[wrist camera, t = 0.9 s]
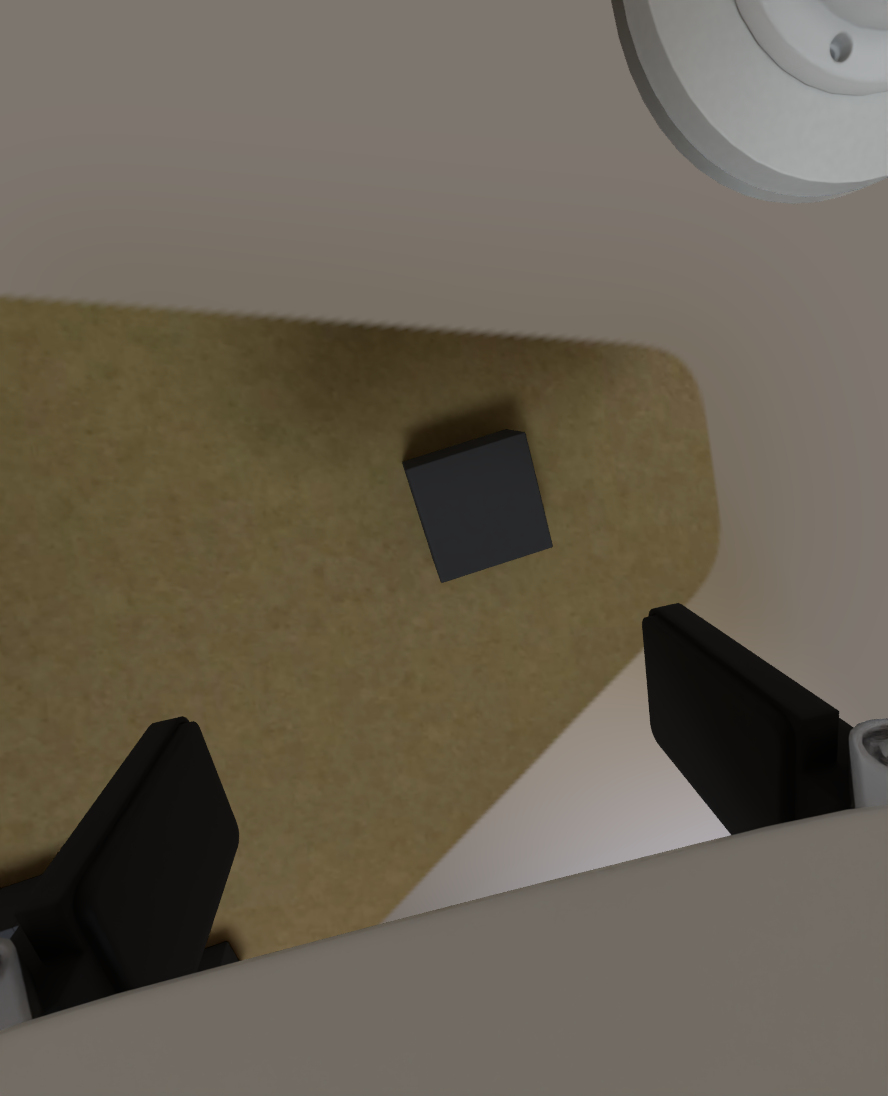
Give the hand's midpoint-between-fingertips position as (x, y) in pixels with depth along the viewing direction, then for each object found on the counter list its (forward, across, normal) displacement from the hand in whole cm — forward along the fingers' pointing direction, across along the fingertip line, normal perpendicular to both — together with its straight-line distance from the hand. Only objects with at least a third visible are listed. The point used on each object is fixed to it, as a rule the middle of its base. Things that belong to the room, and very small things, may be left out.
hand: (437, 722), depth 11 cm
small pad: (+14, -3, -2) cm, 15 cm away
